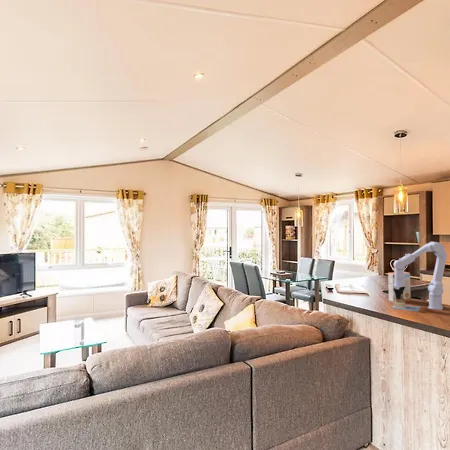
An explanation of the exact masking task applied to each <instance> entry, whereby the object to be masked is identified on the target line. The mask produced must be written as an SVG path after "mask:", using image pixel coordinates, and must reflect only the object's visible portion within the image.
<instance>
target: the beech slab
mask: <svg viewBox="0 0 450 450" xmlns="http://www.w3.org/2000/svg"><path fill="white" fill-rule="evenodd" d="M393 305H394V307H400V308H404V307H405V305H406V301H403V303H398V302H396V301H394V302H393Z"/></svg>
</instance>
